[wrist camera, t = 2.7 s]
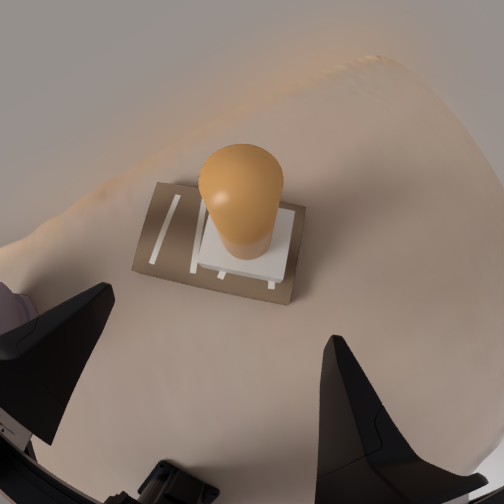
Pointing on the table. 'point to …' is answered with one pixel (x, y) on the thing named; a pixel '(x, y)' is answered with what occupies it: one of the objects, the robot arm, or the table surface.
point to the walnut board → (189, 242)
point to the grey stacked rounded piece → (14, 309)
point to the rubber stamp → (244, 214)
